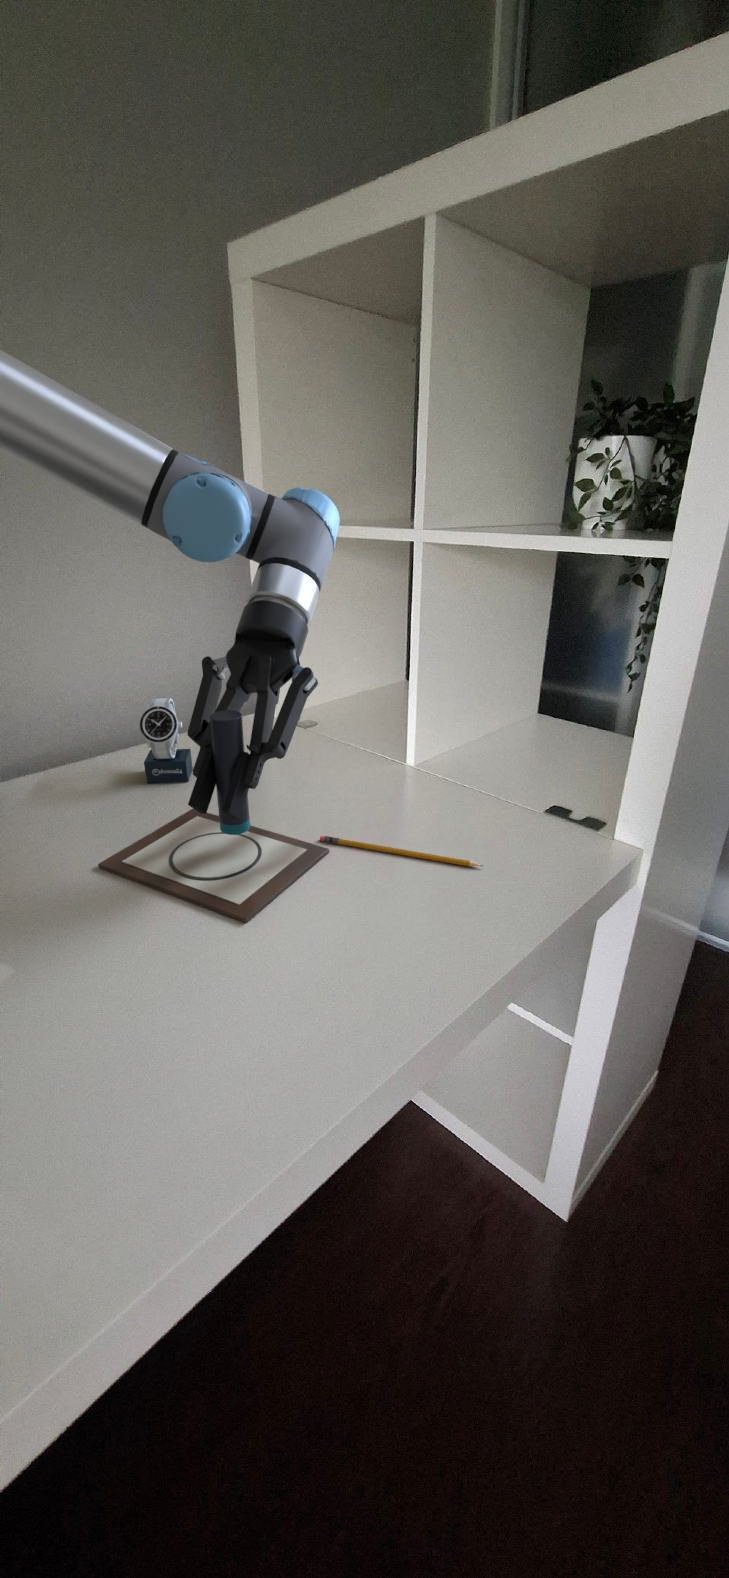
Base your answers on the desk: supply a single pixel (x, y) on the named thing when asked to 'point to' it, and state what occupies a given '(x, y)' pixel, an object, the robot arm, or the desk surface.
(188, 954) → the desk surface
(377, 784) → the desk surface
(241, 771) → the robot arm
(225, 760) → the marker
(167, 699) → the watch
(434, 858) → the pencil
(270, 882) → the sketch board
